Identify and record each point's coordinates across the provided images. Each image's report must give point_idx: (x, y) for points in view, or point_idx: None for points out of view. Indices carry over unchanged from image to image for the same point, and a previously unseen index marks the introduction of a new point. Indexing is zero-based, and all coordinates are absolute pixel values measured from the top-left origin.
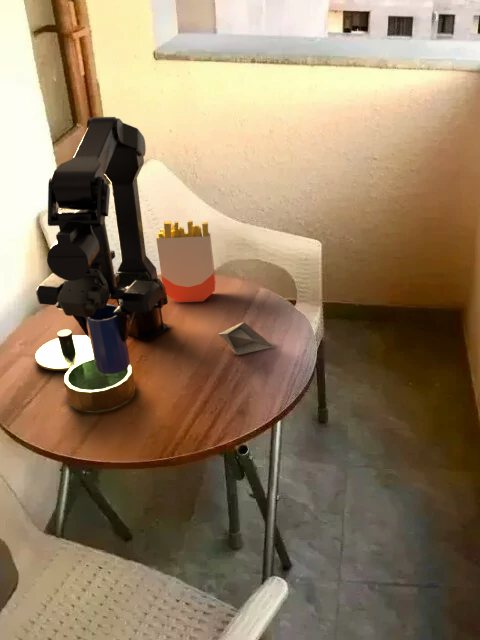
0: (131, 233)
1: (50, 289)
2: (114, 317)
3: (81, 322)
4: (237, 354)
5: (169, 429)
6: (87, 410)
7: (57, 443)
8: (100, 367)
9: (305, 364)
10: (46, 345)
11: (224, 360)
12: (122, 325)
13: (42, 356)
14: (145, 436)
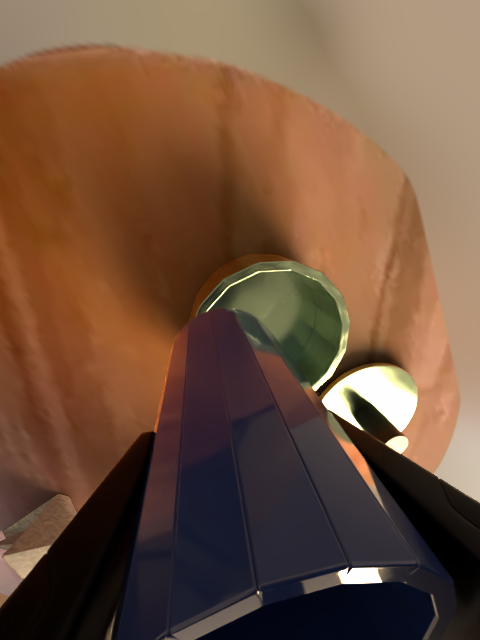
0: None
1: None
2: None
3: (421, 488)
4: (59, 494)
5: (34, 230)
6: (262, 254)
7: (282, 121)
8: (243, 316)
9: None
10: (406, 417)
11: (74, 474)
12: (60, 569)
13: (405, 390)
14: (78, 188)
